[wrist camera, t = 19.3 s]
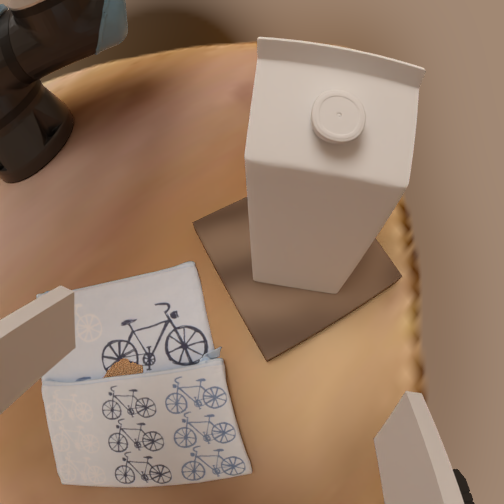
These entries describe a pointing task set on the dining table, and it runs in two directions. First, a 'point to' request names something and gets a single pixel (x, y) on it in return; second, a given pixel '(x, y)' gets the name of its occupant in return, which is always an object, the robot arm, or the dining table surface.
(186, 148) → the dining table surface
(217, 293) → the dining table surface
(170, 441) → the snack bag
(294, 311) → the walnut board
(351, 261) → the milk carton
